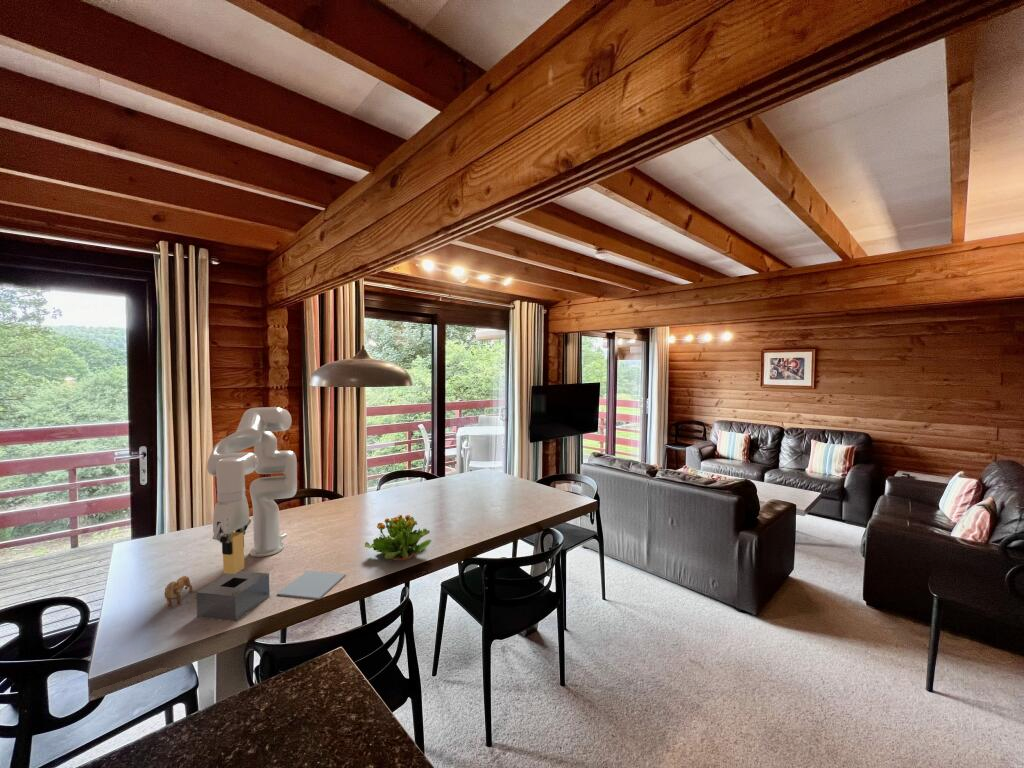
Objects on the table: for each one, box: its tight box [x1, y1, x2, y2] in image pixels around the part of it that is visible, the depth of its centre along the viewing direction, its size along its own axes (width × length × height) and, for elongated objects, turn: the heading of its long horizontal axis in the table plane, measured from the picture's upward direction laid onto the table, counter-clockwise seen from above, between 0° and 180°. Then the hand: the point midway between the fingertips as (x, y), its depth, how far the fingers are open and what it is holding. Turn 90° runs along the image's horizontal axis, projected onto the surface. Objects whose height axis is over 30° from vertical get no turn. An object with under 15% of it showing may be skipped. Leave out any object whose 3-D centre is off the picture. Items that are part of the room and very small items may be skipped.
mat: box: [276, 570, 347, 600], centre depth 148 cm, size 16×16×1 cm
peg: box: [222, 531, 245, 574], centre depth 135 cm, size 4×4×12 cm
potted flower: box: [364, 514, 432, 562], centre depth 171 cm, size 25×24×18 cm
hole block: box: [195, 570, 270, 622], centre depth 135 cm, size 14×14×8 cm
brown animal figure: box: [164, 575, 193, 609], centre depth 138 cm, size 15×5×9 cm, turn 25°
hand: (233, 550), depth 134 cm, fingers closed on peg, 4 cm apart
